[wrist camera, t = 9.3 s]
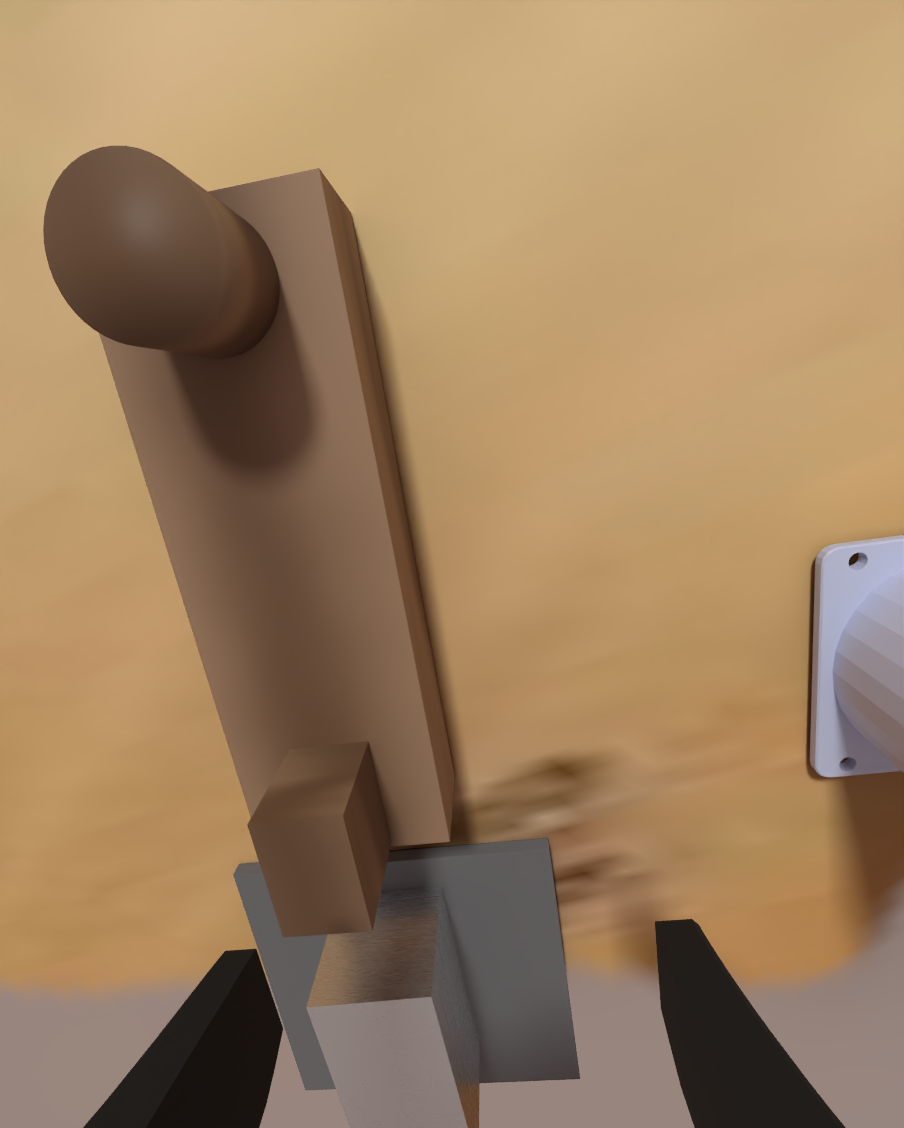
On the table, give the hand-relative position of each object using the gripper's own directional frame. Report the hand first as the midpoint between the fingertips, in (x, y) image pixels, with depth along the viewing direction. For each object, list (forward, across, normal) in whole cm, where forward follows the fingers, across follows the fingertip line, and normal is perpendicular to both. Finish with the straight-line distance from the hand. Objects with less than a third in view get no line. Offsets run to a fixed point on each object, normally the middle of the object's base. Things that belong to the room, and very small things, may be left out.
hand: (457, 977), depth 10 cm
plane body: (+9, +4, -6) cm, 12 cm away
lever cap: (+9, +4, +11) cm, 15 cm away
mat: (+9, +4, +12) cm, 16 cm away
